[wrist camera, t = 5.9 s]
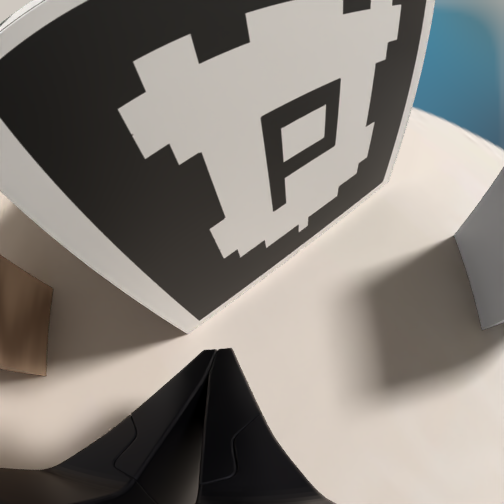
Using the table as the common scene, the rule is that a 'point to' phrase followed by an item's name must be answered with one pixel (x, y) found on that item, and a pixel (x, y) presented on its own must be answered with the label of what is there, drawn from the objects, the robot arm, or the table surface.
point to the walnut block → (23, 320)
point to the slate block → (486, 253)
